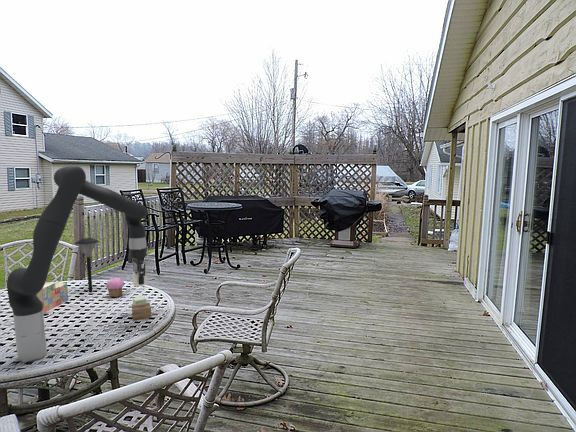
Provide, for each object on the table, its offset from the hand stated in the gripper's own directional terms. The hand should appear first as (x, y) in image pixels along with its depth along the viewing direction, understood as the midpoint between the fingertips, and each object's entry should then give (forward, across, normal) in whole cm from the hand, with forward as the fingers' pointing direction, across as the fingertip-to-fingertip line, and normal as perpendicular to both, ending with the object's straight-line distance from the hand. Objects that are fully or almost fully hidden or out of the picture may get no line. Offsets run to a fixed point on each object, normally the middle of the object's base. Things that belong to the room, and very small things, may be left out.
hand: (139, 282), depth 185 cm
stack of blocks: (+17, -39, -35) cm, 55 cm away
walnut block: (+16, 0, 0) cm, 16 cm away
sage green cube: (+16, -11, +2) cm, 20 cm away
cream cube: (+1, 0, 0) cm, 1 cm away
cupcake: (+16, -37, -4) cm, 41 cm away
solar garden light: (+16, -53, -14) cm, 57 cm away
